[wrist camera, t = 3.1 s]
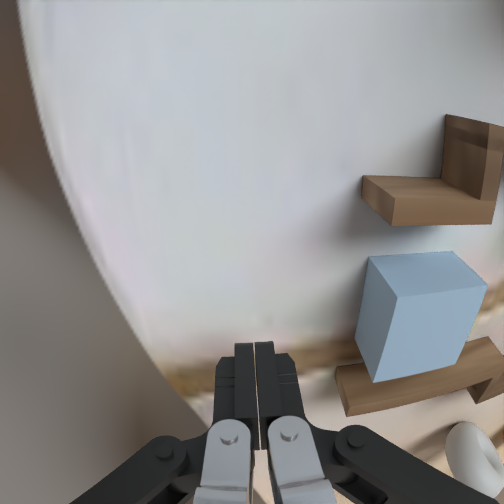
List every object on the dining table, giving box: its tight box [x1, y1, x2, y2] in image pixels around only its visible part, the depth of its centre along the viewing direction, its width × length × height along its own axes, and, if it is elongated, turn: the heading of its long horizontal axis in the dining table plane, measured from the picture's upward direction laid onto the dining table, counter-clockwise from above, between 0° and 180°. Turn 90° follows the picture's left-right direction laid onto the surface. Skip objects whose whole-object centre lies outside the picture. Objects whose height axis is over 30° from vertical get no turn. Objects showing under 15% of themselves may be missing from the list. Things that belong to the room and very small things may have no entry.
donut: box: [445, 422, 504, 498], centre depth 19 cm, size 10×4×10 cm, turn 53°
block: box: [354, 251, 488, 383], centre depth 14 cm, size 5×5×4 cm
